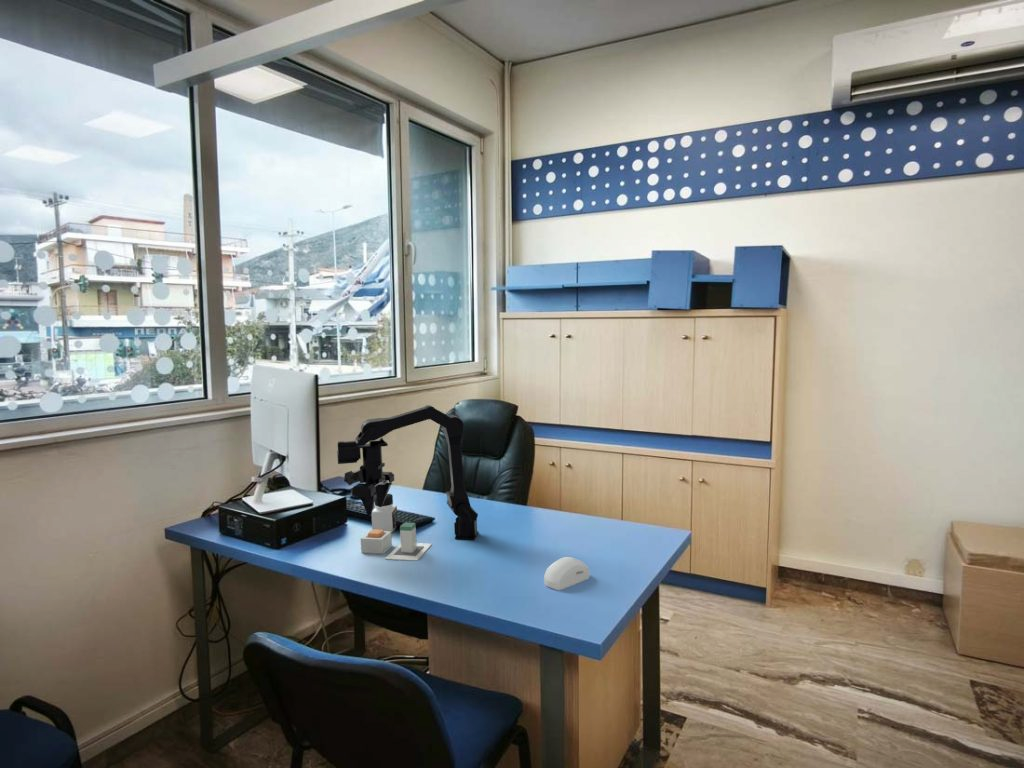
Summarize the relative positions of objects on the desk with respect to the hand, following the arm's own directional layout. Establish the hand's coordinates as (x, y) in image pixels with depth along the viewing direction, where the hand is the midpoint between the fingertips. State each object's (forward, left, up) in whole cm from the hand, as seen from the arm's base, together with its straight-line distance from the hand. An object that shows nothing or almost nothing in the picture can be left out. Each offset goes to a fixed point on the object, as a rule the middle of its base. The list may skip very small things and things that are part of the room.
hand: (374, 510), depth 188 cm
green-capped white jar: (-11, +1, -12) cm, 16 cm away
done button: (0, 0, -9) cm, 9 cm away
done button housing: (0, 0, -12) cm, 12 cm away
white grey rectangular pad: (-11, +1, -12) cm, 16 cm away
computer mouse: (-61, +15, -13) cm, 64 cm away
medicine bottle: (+5, -18, -12) cm, 23 cm away
